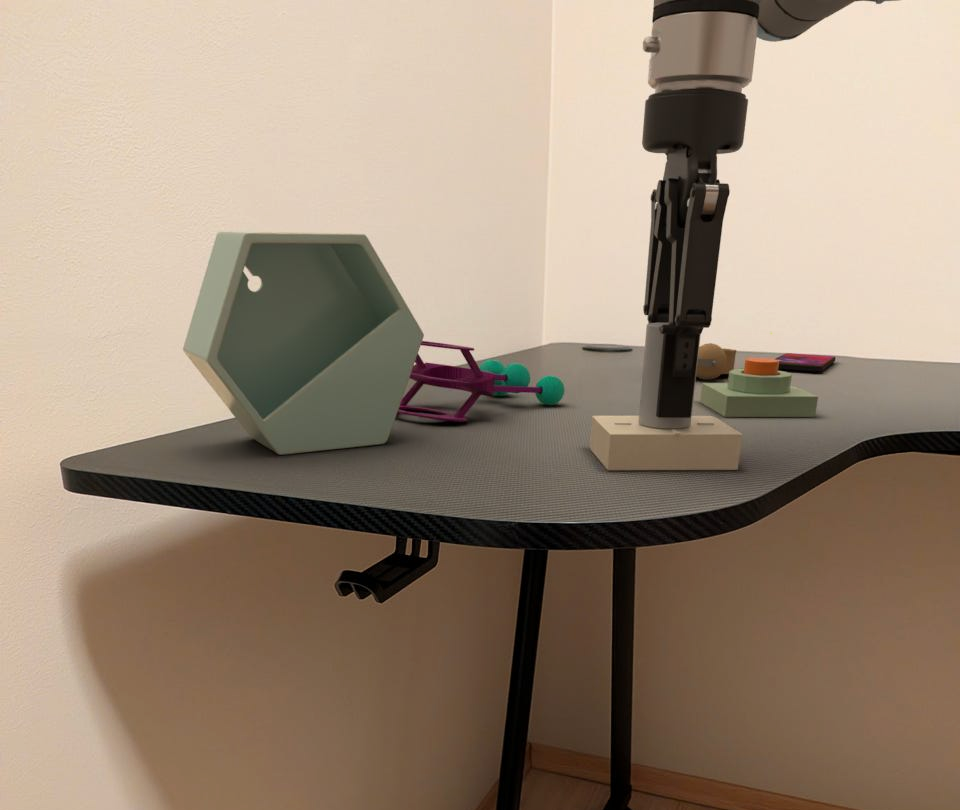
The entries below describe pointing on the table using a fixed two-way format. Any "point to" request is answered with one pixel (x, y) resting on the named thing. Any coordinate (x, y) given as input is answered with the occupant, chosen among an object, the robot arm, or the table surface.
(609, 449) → the dial panel
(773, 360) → the button
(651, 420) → the cylinder
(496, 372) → the purple framed piece
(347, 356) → the planter
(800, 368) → the smartphone
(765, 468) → the table surface
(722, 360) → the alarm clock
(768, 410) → the button block
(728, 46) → the robot arm
